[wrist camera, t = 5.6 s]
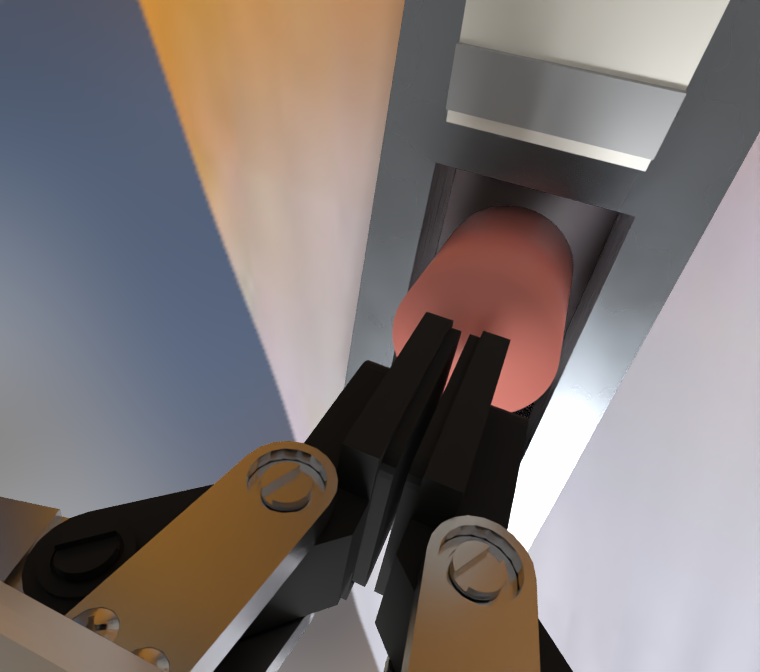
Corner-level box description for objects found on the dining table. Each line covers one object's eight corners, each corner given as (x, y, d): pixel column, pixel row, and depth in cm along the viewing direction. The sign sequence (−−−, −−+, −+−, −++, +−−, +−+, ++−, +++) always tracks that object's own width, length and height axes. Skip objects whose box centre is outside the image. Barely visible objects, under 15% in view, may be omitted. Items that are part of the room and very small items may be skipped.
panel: (500, -313, 11) (454, -453, 8) (936, -287, 9) (1111, -455, 6) (359, 428, 23) (319, 492, 20) (533, 498, 22) (520, 580, 18)
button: (460, 189, 14) (408, 247, 10) (594, 227, 13) (588, 303, 10) (432, 302, 16) (380, 382, 12) (547, 340, 15) (526, 438, 12)
